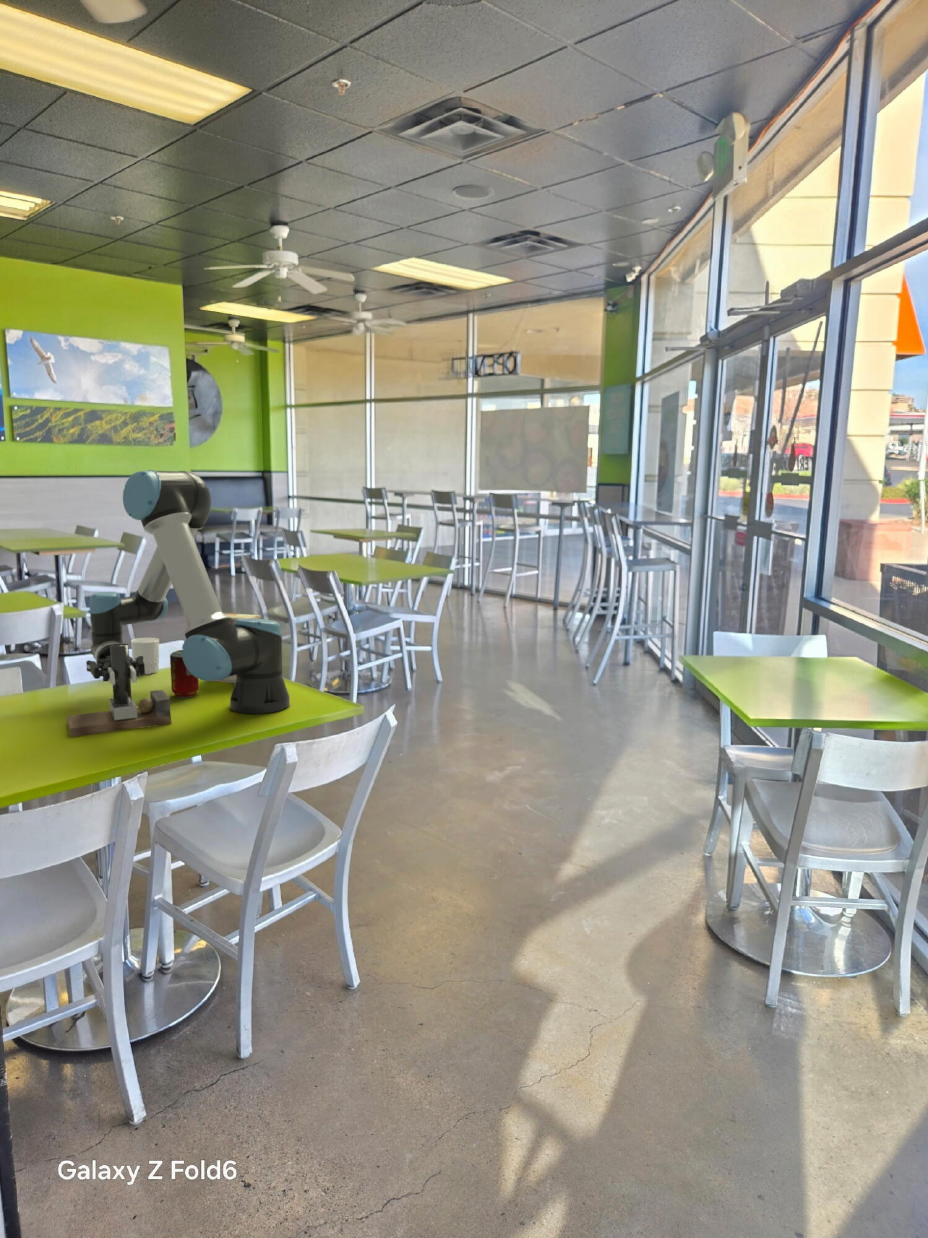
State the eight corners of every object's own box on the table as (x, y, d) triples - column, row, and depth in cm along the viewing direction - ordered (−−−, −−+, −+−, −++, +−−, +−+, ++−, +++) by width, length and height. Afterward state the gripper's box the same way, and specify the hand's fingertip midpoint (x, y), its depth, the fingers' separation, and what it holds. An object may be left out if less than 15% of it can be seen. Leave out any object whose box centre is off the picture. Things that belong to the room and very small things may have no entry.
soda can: (204, 693, 221) (202, 650, 218) (187, 700, 214) (185, 655, 212) (184, 690, 223) (181, 647, 221) (166, 697, 217) (163, 652, 214)
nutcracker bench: (163, 712, 203) (162, 689, 202) (171, 723, 193) (170, 699, 192) (67, 723, 192) (65, 699, 191) (70, 736, 183) (68, 711, 182)
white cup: (150, 676, 239) (149, 643, 237) (127, 674, 240) (125, 641, 239) (165, 670, 246) (164, 638, 245) (142, 668, 248) (141, 636, 246)
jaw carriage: (132, 708, 198) (128, 640, 195) (137, 717, 190) (133, 647, 187) (110, 710, 195) (105, 642, 192) (114, 720, 188) (110, 649, 185)
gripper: (148, 668, 211) (163, 689, 191) (76, 675, 203) (84, 698, 183) (146, 641, 210) (161, 658, 190) (74, 646, 202) (82, 666, 182)
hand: (123, 678), depth 186 cm, fingers closed on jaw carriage, 4 cm apart
